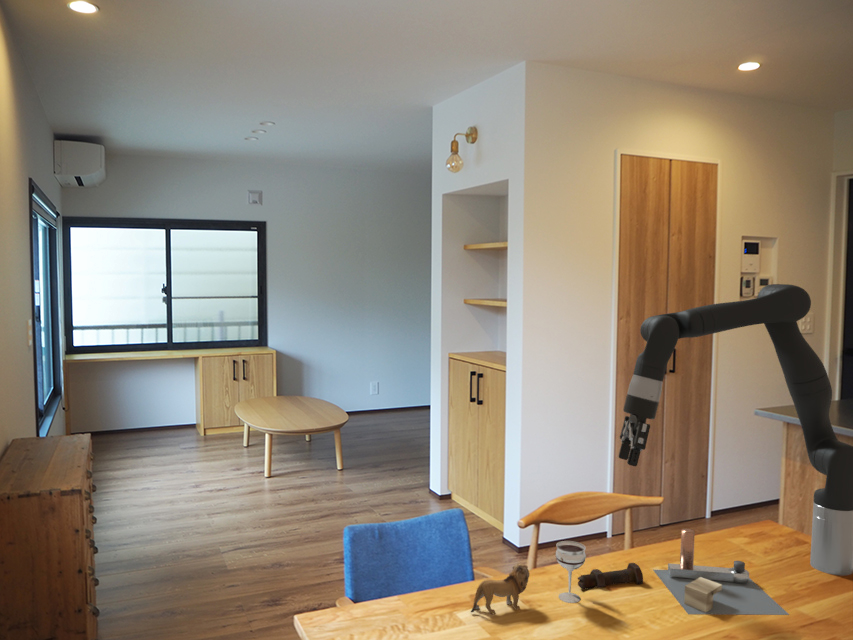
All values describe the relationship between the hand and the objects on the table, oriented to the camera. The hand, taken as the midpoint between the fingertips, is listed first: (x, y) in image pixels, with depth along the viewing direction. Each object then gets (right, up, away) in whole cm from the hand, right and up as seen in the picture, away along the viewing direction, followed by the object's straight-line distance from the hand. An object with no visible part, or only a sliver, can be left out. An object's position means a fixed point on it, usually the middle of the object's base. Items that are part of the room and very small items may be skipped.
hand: (627, 462), depth 163 cm
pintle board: (+19, -30, -5) cm, 36 cm away
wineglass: (-15, -30, -7) cm, 34 cm away
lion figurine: (-32, -30, -12) cm, 45 cm away
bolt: (-5, -30, -2) cm, 30 cm away
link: (+20, -28, +1) cm, 34 cm away
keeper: (+13, -29, -12) cm, 34 cm away
